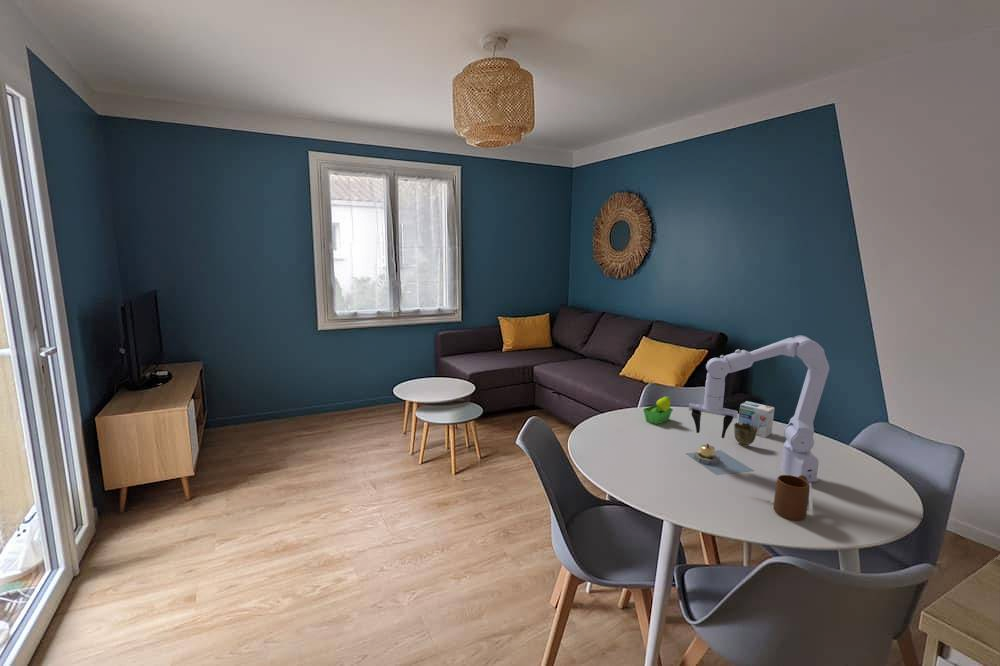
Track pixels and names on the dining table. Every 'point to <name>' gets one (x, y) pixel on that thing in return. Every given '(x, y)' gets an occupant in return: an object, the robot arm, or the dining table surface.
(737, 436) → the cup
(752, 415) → the light bulb box
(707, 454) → the knob
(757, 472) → the dining table surface
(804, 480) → the mug
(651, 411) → the fruit basket
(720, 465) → the blue-grey flat slab
